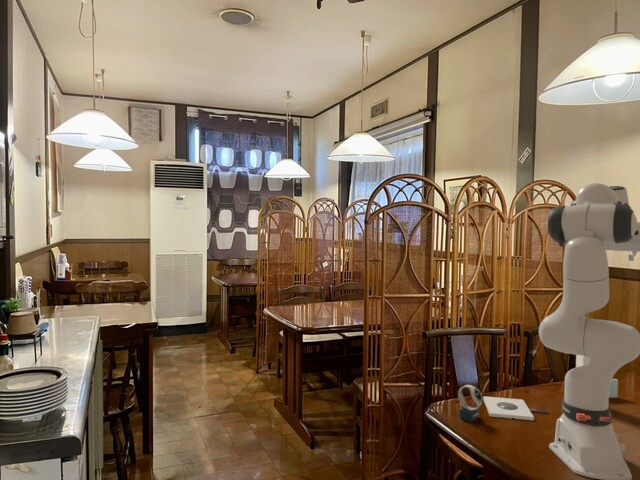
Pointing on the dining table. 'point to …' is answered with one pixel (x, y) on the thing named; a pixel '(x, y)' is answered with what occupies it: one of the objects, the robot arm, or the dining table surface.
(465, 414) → the watch
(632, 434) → the dining table surface
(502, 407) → the charging pad
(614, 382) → the right angle wall
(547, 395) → the dining table surface
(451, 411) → the dining table surface
